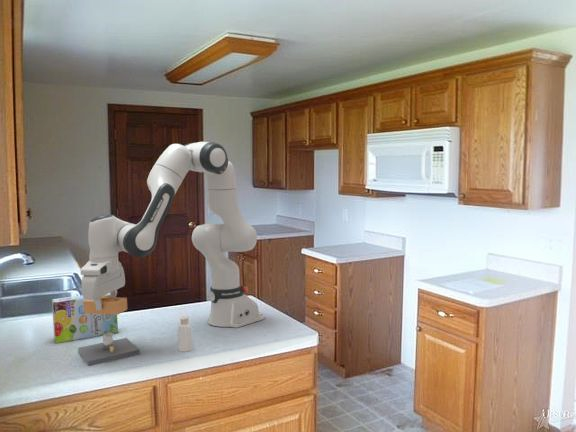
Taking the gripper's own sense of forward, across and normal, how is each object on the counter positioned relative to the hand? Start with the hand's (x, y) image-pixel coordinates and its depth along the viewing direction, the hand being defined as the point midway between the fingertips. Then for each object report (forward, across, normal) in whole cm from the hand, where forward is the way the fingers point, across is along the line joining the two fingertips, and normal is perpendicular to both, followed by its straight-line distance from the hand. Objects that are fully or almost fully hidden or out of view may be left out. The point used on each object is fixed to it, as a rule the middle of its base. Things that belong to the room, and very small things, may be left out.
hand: (106, 306), depth 160 cm
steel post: (+16, 0, 0) cm, 16 cm away
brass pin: (+16, +2, +3) cm, 16 cm away
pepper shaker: (+16, -7, +24) cm, 30 cm away
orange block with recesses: (+2, 0, 0) cm, 2 cm away
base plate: (+16, 0, 0) cm, 16 cm away
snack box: (+16, -15, -17) cm, 28 cm away
